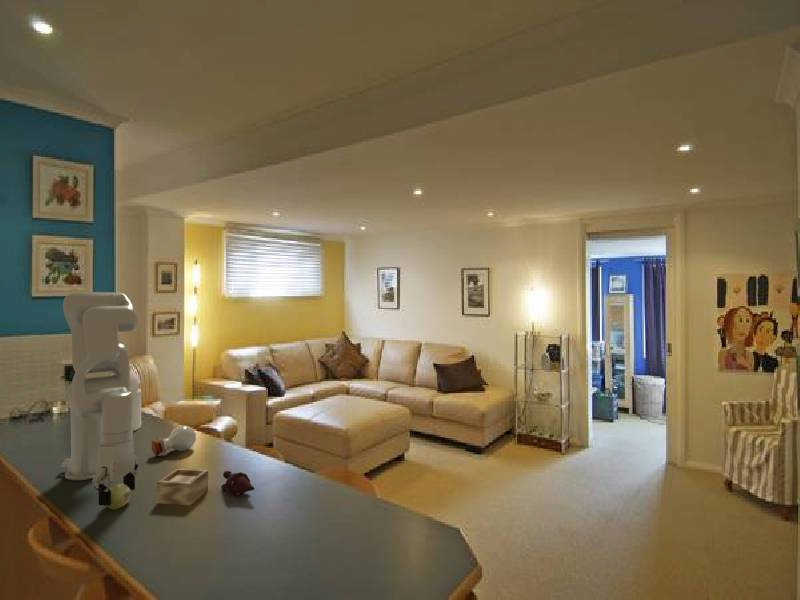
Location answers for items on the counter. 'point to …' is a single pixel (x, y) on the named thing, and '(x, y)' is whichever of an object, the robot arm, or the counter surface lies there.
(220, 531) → the counter surface
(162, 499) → the wooden box
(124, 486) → the tennis ball
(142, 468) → the counter surface
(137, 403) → the bottle
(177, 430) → the potion bottle
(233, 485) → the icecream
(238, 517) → the counter surface
